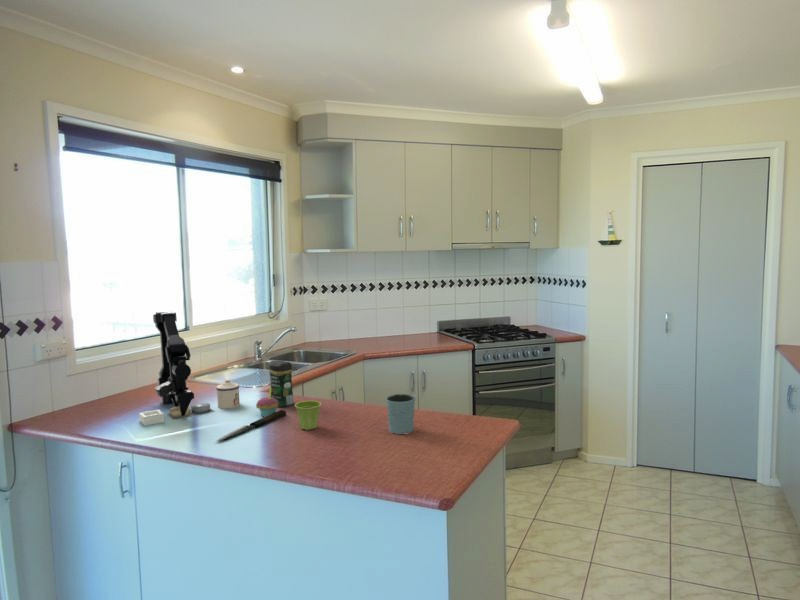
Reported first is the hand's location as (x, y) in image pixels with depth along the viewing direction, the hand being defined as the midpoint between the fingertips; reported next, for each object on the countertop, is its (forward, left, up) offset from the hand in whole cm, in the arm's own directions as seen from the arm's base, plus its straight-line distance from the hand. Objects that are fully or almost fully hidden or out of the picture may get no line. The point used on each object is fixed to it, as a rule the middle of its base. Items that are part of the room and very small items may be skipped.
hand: (180, 413), depth 219 cm
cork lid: (0, 0, 0) cm, 0 cm away
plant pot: (+46, +32, -2) cm, 56 cm away
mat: (0, +4, -1) cm, 4 cm away
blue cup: (+71, +55, -2) cm, 90 cm away
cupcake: (+22, +27, -2) cm, 35 cm away
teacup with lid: (-1, +20, -2) cm, 20 cm away
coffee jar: (+11, +38, -2) cm, 40 cm away
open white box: (+2, -11, -1) cm, 11 cm away
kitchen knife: (+32, +16, -2) cm, 36 cm away
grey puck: (0, +8, 0) cm, 8 cm away
